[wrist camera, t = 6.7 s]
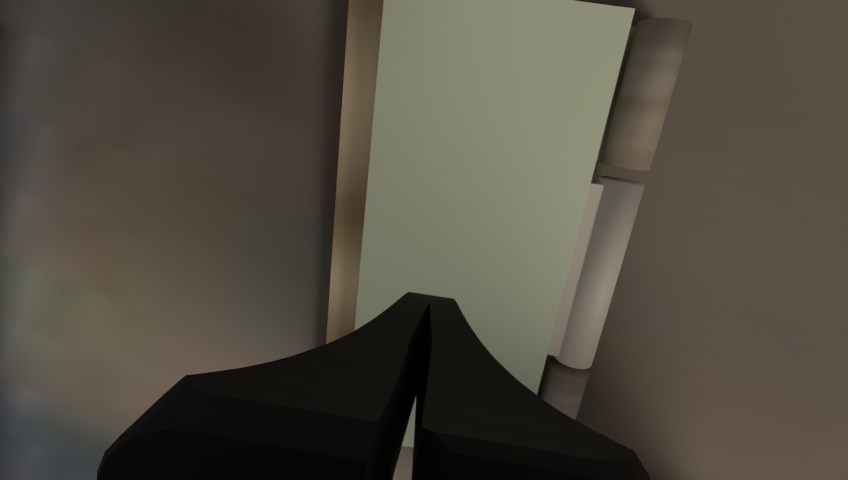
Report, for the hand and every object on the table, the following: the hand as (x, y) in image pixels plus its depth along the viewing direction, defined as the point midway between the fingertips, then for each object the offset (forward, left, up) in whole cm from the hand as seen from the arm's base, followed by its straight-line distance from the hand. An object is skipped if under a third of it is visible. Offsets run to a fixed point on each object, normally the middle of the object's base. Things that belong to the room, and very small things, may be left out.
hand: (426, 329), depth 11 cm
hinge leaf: (0, -2, -6) cm, 7 cm away
